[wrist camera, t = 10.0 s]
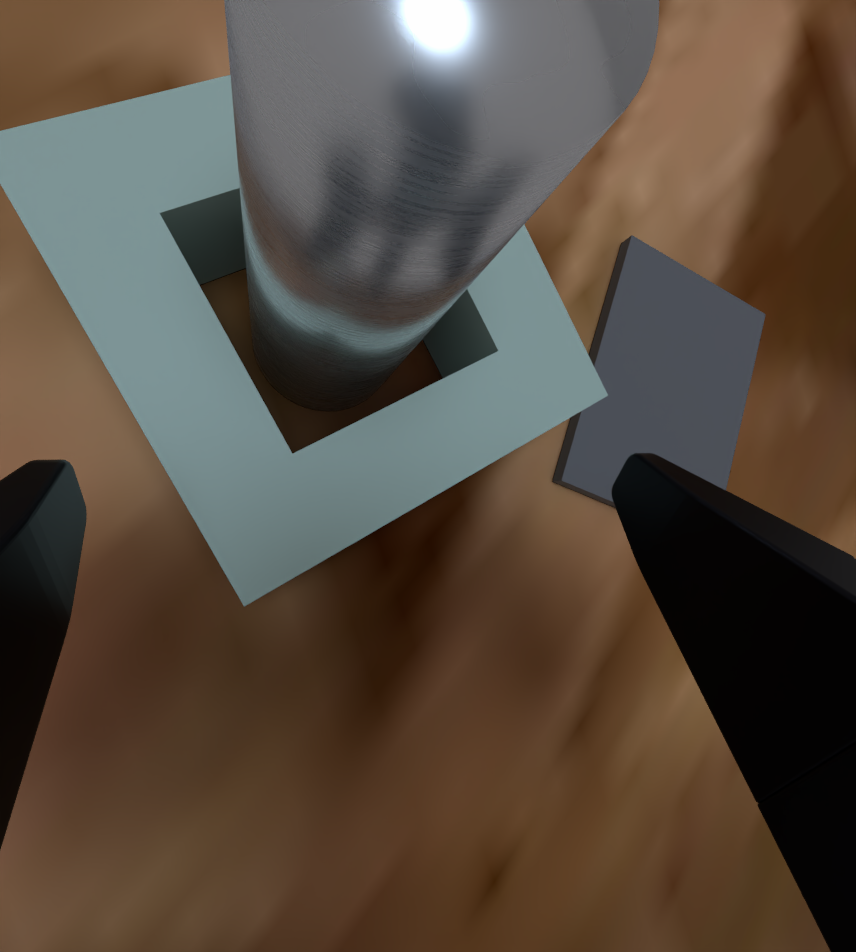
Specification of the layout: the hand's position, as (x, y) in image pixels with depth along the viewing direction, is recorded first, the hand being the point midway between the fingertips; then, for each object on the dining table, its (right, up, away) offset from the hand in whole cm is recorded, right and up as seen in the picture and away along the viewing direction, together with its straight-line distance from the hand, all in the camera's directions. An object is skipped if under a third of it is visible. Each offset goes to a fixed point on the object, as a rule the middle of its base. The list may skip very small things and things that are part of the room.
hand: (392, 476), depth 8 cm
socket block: (-3, +4, +8) cm, 9 cm away
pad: (+10, +3, +12) cm, 16 cm away
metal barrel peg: (-3, +4, +8) cm, 9 cm away
